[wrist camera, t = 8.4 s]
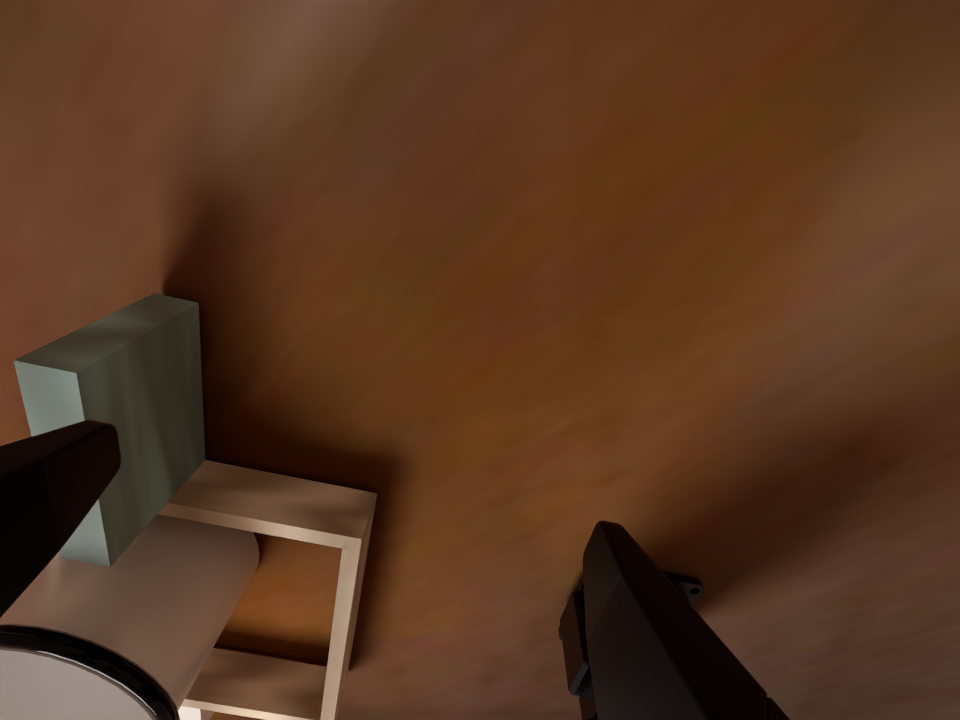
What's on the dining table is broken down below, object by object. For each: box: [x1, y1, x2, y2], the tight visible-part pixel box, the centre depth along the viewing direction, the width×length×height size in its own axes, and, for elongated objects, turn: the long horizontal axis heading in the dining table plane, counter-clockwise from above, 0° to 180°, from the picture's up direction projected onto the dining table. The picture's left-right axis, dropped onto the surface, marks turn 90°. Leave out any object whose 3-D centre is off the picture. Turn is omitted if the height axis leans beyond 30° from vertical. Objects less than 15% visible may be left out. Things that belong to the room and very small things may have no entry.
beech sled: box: [14, 294, 377, 720], centre depth 22 cm, size 15×24×6 cm, turn 167°
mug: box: [0, 514, 260, 720], centre depth 23 cm, size 12×10×9 cm
